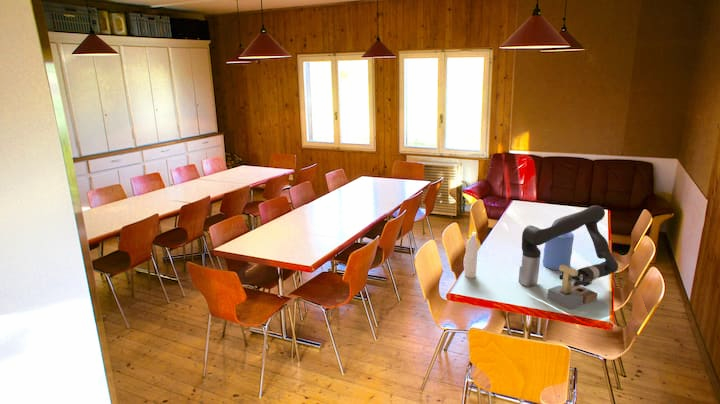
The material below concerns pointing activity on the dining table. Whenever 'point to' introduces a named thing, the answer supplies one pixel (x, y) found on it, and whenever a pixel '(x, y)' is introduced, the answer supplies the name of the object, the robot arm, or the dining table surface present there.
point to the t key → (567, 278)
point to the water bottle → (471, 256)
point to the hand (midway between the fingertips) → (567, 280)
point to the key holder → (565, 297)
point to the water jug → (558, 251)
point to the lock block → (584, 293)
